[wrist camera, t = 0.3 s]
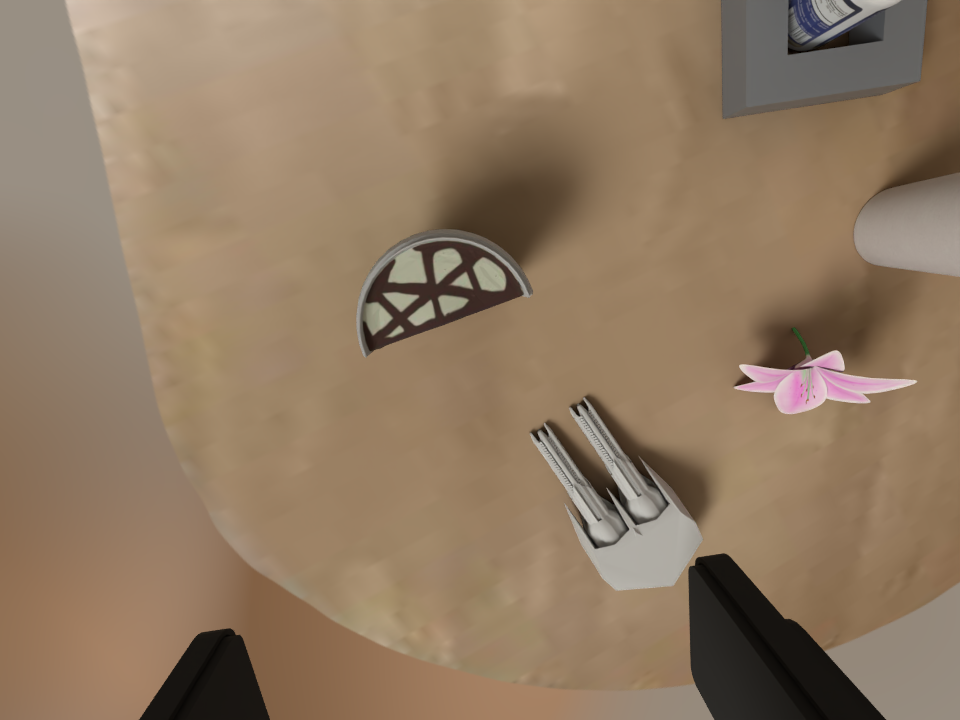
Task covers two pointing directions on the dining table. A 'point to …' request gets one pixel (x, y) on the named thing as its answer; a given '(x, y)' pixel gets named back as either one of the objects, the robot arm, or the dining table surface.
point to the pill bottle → (828, 19)
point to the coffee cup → (913, 227)
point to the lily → (814, 382)
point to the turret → (624, 512)
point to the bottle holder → (814, 58)
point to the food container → (434, 285)
